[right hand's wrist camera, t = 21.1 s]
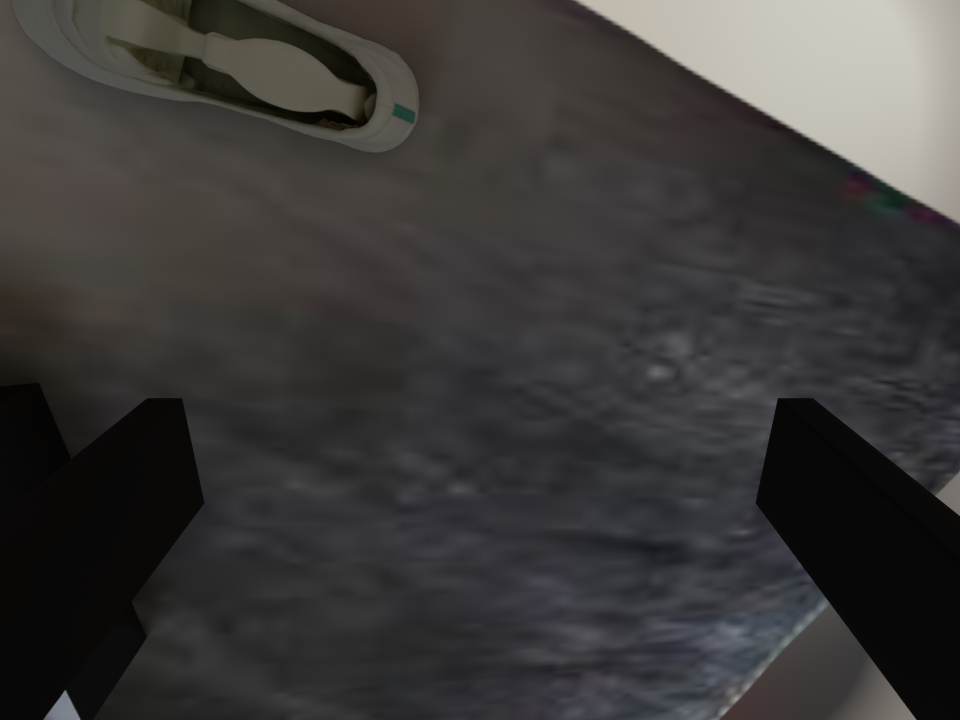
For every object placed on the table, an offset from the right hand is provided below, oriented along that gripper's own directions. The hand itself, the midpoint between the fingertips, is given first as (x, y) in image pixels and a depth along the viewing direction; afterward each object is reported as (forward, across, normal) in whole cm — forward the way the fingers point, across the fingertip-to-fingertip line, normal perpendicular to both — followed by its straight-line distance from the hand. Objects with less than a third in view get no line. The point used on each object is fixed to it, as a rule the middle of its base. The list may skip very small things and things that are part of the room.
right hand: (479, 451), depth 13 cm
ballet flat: (+29, -15, +11) cm, 35 cm away
